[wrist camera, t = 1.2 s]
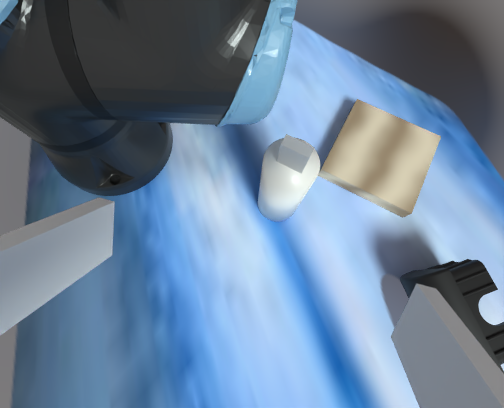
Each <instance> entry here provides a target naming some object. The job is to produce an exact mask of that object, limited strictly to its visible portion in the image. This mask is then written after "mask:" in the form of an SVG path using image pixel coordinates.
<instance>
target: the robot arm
mask: <svg viewBox="0 0 504 408" xmlns="http://www.w3.org/2000/svg"><path fill="white" fill-rule="evenodd" d="M296 5H297V0H0V117H1V118H2V119H4V120H5V121H7V122H8V123H10V124H11V125H13V126H14V127H16V128H17V129H19V130H20V131H22V132H23V133H25V134H26V135H28V136H29V137H31V138H32V139H34V140H35V141H36V142H38V143H39V144H40V145H41V147H42V148H43V150H44V151H45V153H46V154H47V156H48V157H49V159H50V160H51V162H52V164H53V165H54V167H55V168H56V170H57V171H58V172H59V173H60V174H61V175H62V176H63V177H64V178H65V179H66V180H68V181H69V182H70V183H72V184H74V185H75V186H77V187H79V188H80V189H82V190H84V191H87V192H89V193H92V194H96V195H103V196H115V195H121V194H126V193H129V192H132V191H134V190H137V189H139V188H141V187H143V186H144V185H146V184H147V183H149V182H150V181H151V180H153V179H154V178H155V177H156V176H157V175H158V174H159V173H160V171H161V170H162V169H163V167H164V166H165V164H166V162H167V161H168V158H169V156H170V153H171V149H172V143H173V136H172V130H171V126H170V124H169V123H187V124H210V125H215V126H216V127H220V126H224V125H225V124H254V123H257V122H259V121H260V120H262V119H264V118H265V117H266V116H267V115H268V114H269V113H270V111H271V109H272V107H273V105H274V103H275V101H276V98H277V95H278V92H279V89H280V86H281V82H282V79H283V75H284V71H285V67H286V62H287V58H288V53H289V49H290V43H291V37H292V32H293V30H292V22H293V20H294V14H295V9H296ZM113 225H114V201H110V200H106V199H103V198H96V199H94V200H91V201H89V202H86V203H83V204H81V205H78V206H76V207H73V208H70V209H68V210H65V211H63V212H60V213H57V214H55V215H52V216H50V217H47V218H44V219H42V220H39V221H37V222H34V223H31V224H29V225H26V226H24V227H21V228H19V229H16V230H13V231H11V232H8V233H6V234H3V235H1V236H0V335H1V334H3V333H4V332H6V331H7V330H8V329H10V328H11V327H13V326H14V325H15V324H17V323H18V322H20V321H21V320H22V319H24V318H25V317H27V316H28V315H29V314H31V313H32V312H34V311H35V310H36V309H38V308H39V307H41V306H42V305H43V304H45V303H46V302H48V301H49V300H50V299H52V298H53V297H54V296H56V295H57V294H59V293H60V292H61V291H63V290H64V289H66V288H67V287H68V286H70V285H71V284H73V283H74V282H75V281H77V280H78V279H80V278H81V277H82V276H84V275H85V274H87V273H88V272H89V271H91V270H92V269H94V268H95V267H96V266H98V265H99V264H101V263H102V262H103V261H105V260H106V259H108V258H109V257H110V256H112V248H113ZM391 338H392V341H393V343H394V346H395V348H396V350H397V353H398V355H399V358H400V360H401V363H402V365H403V368H404V370H405V372H406V375H407V377H408V380H409V382H410V385H411V387H412V390H413V392H414V395H415V397H416V399H417V402H418V404H419V407H420V408H504V374H503V372H502V371H501V370H500V368H499V367H498V366H497V365H496V363H495V362H494V361H493V360H492V358H491V357H490V356H489V355H488V353H487V352H486V351H485V350H484V348H483V347H482V346H481V344H480V343H479V342H478V341H477V339H476V338H475V337H474V336H473V334H472V333H471V332H470V331H469V329H468V328H467V327H466V326H465V324H464V323H463V322H462V320H461V319H460V318H459V317H458V315H457V314H456V313H455V312H454V310H453V309H452V308H451V307H450V305H449V304H448V303H447V302H446V300H445V299H444V298H443V296H442V295H441V294H440V293H439V291H438V290H437V289H435V288H432V287H428V286H424V285H421V284H417V283H416V285H415V288H414V290H413V292H412V294H411V296H410V298H409V300H408V302H407V304H406V306H405V308H404V310H403V312H402V315H401V317H400V319H399V321H398V323H397V325H396V327H395V329H394V331H393V333H392V335H391Z"/></svg>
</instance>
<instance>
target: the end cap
mask: <svg viewBox="0 0 504 408" xmlns="http://www.w3.org/2000/svg"><path fill="white" fill-rule="evenodd" d="M400 281H401V283H402V285H403V287H404V289H405V291H406V293H407V296H408V298H410V296H411V294H412V292H413V290H414V288H415V285H416V283H417V284H421V285H424V286H428V287H432V288H435V289H437V290H438V291H439V293H440V294H441V295H442V296H443V298H444V299H445V300H446V302H447V303H448V304H449V305H450V307H451V308H452V309H453V310H454V312H455V313H456V314H457V315H458V317H459V318H460V319H461V320H462V322H463V323H464V324H465V326H466V327H467V328H468V329H469V331H470V332H471V333H472V334H473V336H474V337H475V338H476V339H477V341H478V342H479V343H480V344H481V346H482V347H483V348H484V350H485V351H486V352H487V353H488V355H489V356H490V357H491V358H492V360H493V361H494V362H495V363H496V365H497V366H498V367H499V368H500V370H501V371H502V372H503V374H504V371H503V369H502V368H501V366H500V365H501V364H503V363H504V322H503V323H500V324H498V325H491V324H489V323H488V322H486V321H485V320H484V319H483V318H482V316H481V314H480V312H479V308H478V304H479V300H480V298H481V297H482V296H483V295H485V294H488V293H490V292H493V291H495V290H498V289H497V287H496V285H495V284H494V282H493V280H492V278H491V277H490V275H489V273H488V271H487V270H486V268H485V266H484V265H483V263H482V262H480V261H478V260H469V259H467V260H464V261H461V262H454V261H451V262H448V263H445V264H443V265H436V266H434V267H431V268H428V269H426V270H416V271H412V272H409V273H407V274H405V275H403V276H402V277H401V278H400Z"/></svg>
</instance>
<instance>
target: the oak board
mask: <svg viewBox="0 0 504 408" xmlns="http://www.w3.org/2000/svg"><path fill="white" fill-rule="evenodd" d="M440 138H441V136H439V135H436V134H434V133H432V132H430V131H428V130H425V129H423V128H421V127H419V126H416V125H414V124H412V123H410V122H407V121H405V120H403V119H401V118H398V117H396V116H394V115H392V114H389V113H387V112H385V111H383V110H380V109H378V108H376V107H374V106H372V105H369V104H367V103H365V102H363V101H360V100H358V99H357V100H356V102H355V104H354V105H353V107H352V109H351V111H350V113H349V115H348V117H347V119H346V121H345V123H344V124H343V126H342V128H341V130H340V132H339V134H338V136H337V138H336V140H335V142H334V144H333V146H332V148H331V150H330V152H329V154H328V156H327V158H326V160H325V162H324V164H323V166H322V168H321V170H320V172H319V174H318V176H320V177H322V178H324V179H326V180H328V181H330V182H332V183H334V184H336V185H338V186H340V187H342V188H344V189H346V190H348V191H350V192H352V193H354V194H356V195H358V196H360V197H362V198H364V199H366V200H368V201H370V202H372V203H374V204H376V205H378V206H380V207H382V208H384V209H387V210H389V211H391V212H393V213H395V214H397V215H399V216H401V217H405V216H407V215H409V214H412V211H413V209H414V206H415V203H416V201H417V198H418V196H419V193H420V190H421V188H422V185H423V183H424V180H425V177H426V175H427V172H428V169H429V167H430V164H431V162H432V159H433V156H434V154H435V151H436V149H437V146H438V143H439V141H440Z"/></svg>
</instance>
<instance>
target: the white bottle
mask: <svg viewBox="0 0 504 408" xmlns="http://www.w3.org/2000/svg"><path fill="white" fill-rule="evenodd" d="M319 171H320V159H319V156H318V154H317V152H316V150H315V149H314V147H312V146H311V145H310V144H309V143H307V142H306V141H304V140H301V139H298V138H293V137H291V136H289V135H287V134H286V136H285V138H282V139H279V140H277V141H275V142H273V143H272V144H271V145H270V146H269V147H268V148H267V150H266V152H265V154H264V157H263V164H262V172H261V180H260V188H259V196H258V208H259V210H260V212H261V214H262V215H263V216H264V217H265V218H267V219H268V220H271V221H275V222H281V221H285V220H287V219H289V218H290V217H291V216H292V215H293V214H294V212H295V210H296V209H297V207H298V206H299V204H300V203H301V201H302V200H303V198H304V196H305V195H306V193H307V192H308V190H309V189H310V187H311V185H312V184H313V182H314V181H315V179H316V178H317V176H318V174H319Z"/></svg>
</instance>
